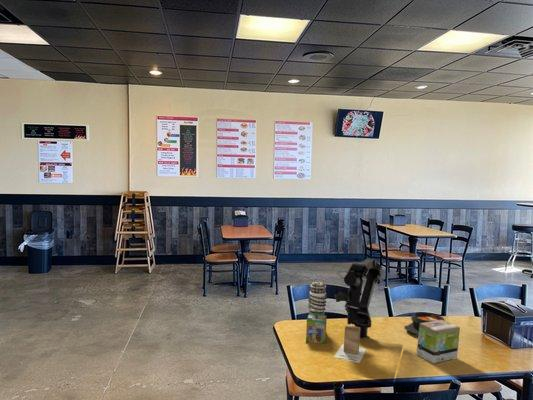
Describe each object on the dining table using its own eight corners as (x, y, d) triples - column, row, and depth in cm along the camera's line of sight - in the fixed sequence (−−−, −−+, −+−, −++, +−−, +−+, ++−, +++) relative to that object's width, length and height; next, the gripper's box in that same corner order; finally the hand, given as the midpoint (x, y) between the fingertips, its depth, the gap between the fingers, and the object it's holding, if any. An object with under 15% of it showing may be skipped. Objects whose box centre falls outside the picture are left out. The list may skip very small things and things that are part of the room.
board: (342, 345, 186) (342, 343, 186) (366, 350, 181) (366, 348, 181) (333, 359, 171) (333, 357, 171) (359, 365, 167) (359, 363, 167)
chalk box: (325, 346, 185) (326, 314, 184) (305, 343, 187) (307, 312, 186) (326, 338, 194) (327, 308, 193) (307, 335, 196) (308, 306, 195)
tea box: (434, 364, 171) (437, 330, 170) (416, 354, 180) (418, 322, 179) (458, 358, 178) (460, 326, 177) (439, 349, 187) (441, 318, 186)
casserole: (433, 324, 221) (434, 309, 221) (460, 337, 204) (461, 320, 203) (396, 328, 212) (397, 312, 212) (421, 342, 195) (422, 325, 194)
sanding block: (345, 348, 181) (346, 324, 180) (358, 351, 178) (360, 327, 178) (343, 351, 177) (344, 327, 176) (357, 354, 175) (358, 330, 174)
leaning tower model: (327, 334, 198) (330, 285, 197) (310, 335, 196) (312, 285, 195) (321, 327, 207) (323, 280, 206) (304, 328, 205) (306, 280, 204)
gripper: (337, 288, 195) (331, 320, 191) (338, 283, 178) (331, 318, 174) (360, 293, 193) (354, 326, 189) (363, 289, 176) (357, 325, 171)
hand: (349, 324), depth 181 cm, fingers open, 9 cm apart
